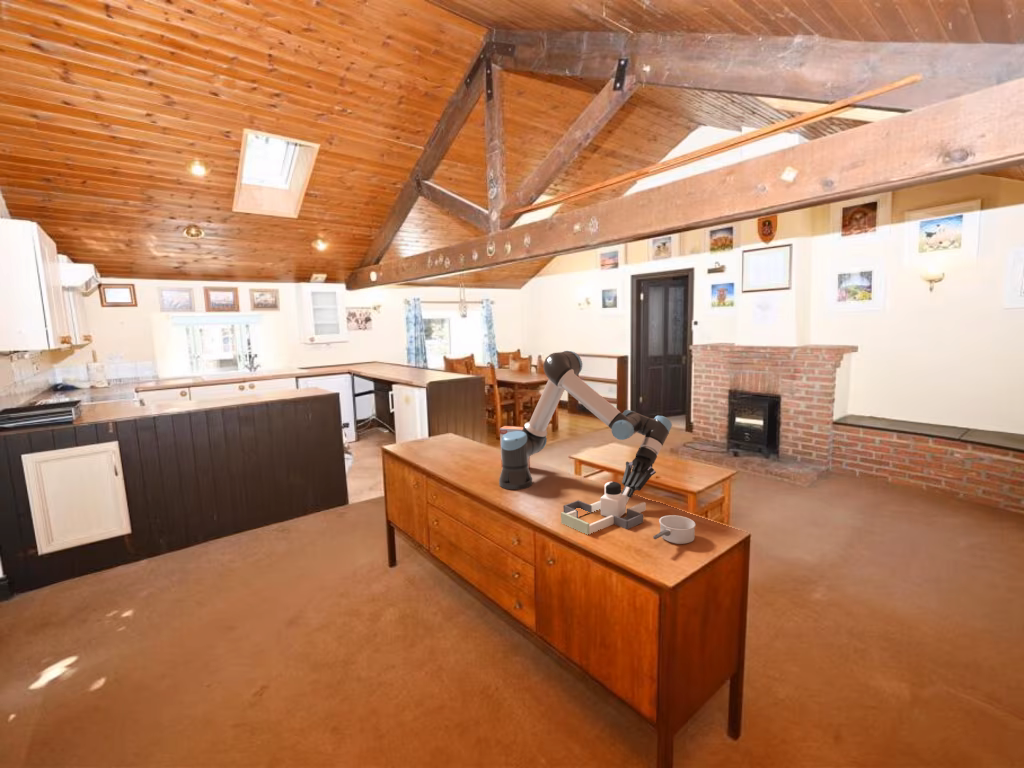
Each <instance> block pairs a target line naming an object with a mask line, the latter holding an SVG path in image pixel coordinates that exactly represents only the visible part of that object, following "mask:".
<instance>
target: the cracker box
mask: <svg viewBox="0 0 1024 768" xmlns="http://www.w3.org/2000/svg"><path fill="white" fill-rule="evenodd" d="M523 427H524V426H512V425H504V426H502V427H499V437H500V438H499V439H500V441H499V442H500V465H501V468H502V447H501V442H502V437H503V435H504V434H506V433H508V432H513V431H522V429H523ZM530 467H531V457H530V456H529V457H528V469H529V468H530Z"/></svg>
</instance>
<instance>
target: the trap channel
mask: <svg viewBox="0 0 1024 768" xmlns="http://www.w3.org/2000/svg"><path fill="white" fill-rule="evenodd" d="M646 506H647V504H646V502H644V501H642V502H640V503H637V504H635V505H633V506H630V507H628V508H626V515H625V516H624V517H620V518H619V517H617V516H614V515H611V516H608V517H607V516H605V517H603V518H601V519H598V520H596V521H594V522H591V523H589V535H591V533H592V534H594V533H596V532H599V531H601V530H603V529H605V528H608V527H611V526H612V525H616V527H617V526H618V527H620V528H623V529H625V530H628V529H632V528H634V527H636V526H639V525H641V524H642V523H644V514H643V513H642V512H645V511H646V509H647V507H646ZM562 507H563V512H564V513H566V514H569V515H571V516H573V517H576V518H578V511H577V510H575V509H576V508H581V509H583V510H585V511H588V512H590V514H592V513H591V512H593V513H595V512H597V511H596V510H598V511H600V510H601V504H600V500H598V501H595V502H593V503H591V504H589V503H587V502H585V501H582V500H579V499H578V500H575V501H573V502H570V503H566V504H565V505H562ZM599 509H600V510H599ZM594 511H595V512H594ZM588 512H587V513H588ZM578 519H579V518H578ZM600 529H601V530H600ZM598 530H599V531H598ZM593 532H594V533H593Z"/></svg>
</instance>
